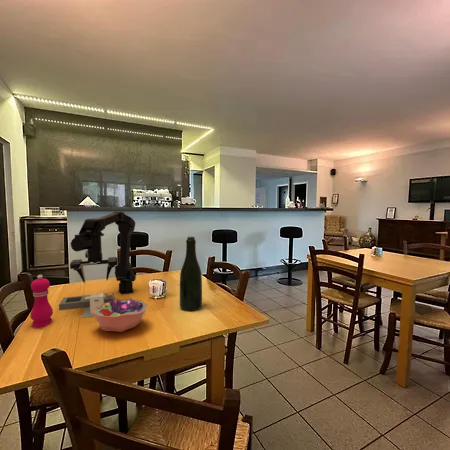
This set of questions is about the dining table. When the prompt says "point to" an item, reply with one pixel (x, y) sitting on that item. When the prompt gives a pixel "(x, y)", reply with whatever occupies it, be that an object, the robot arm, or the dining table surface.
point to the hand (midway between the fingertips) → (95, 281)
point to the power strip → (81, 301)
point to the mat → (87, 313)
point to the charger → (96, 301)
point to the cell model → (120, 314)
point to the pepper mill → (41, 303)
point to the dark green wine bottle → (190, 279)
